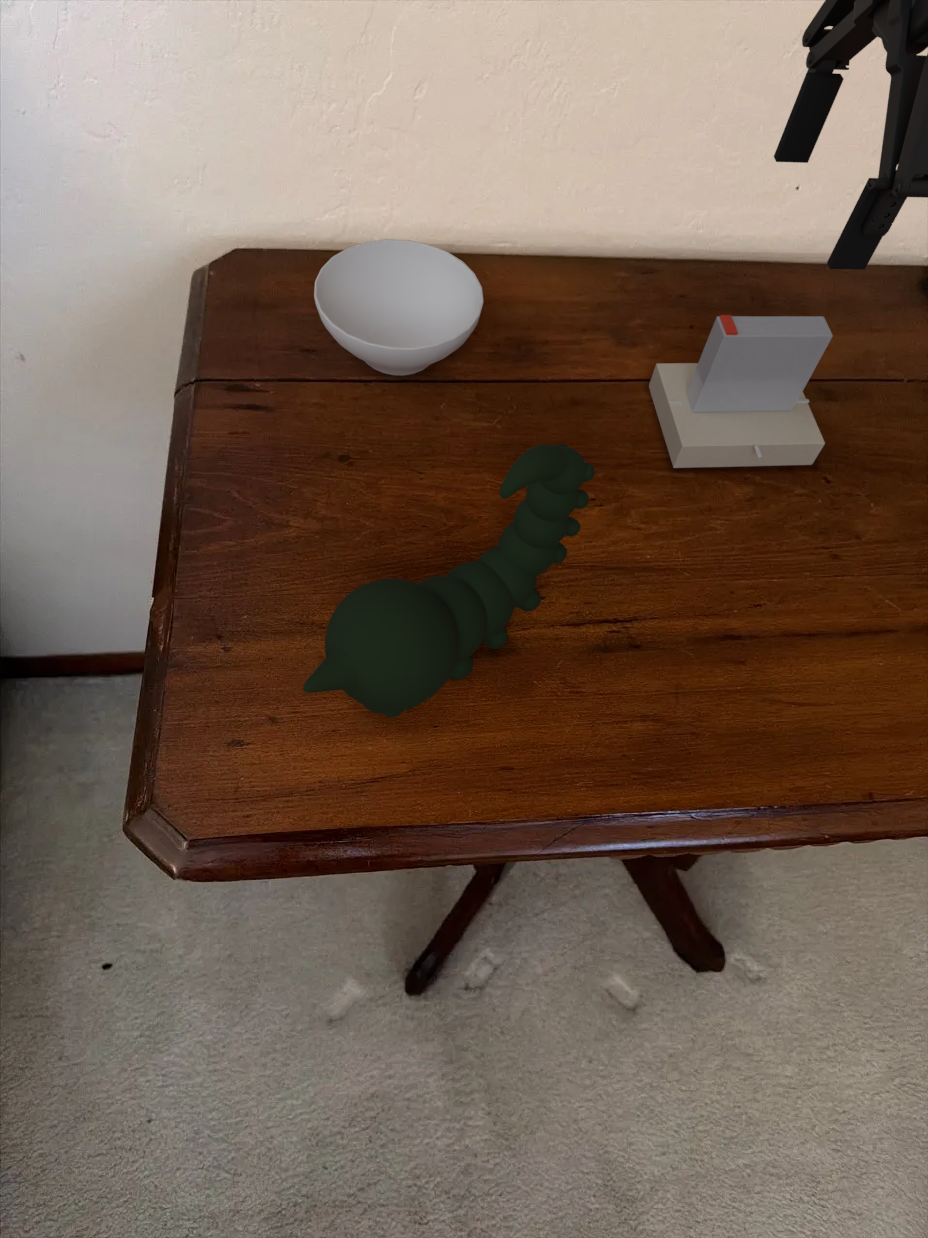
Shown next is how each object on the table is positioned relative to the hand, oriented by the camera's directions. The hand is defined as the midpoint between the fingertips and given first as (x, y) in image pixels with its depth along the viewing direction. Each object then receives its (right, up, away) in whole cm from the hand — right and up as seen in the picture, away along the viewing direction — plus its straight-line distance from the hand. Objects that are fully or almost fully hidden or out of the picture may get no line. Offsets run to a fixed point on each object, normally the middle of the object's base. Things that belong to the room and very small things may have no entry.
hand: (816, 210), depth 68 cm
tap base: (-1, -12, +19) cm, 23 cm away
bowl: (-34, -5, +21) cm, 40 cm away
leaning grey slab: (-1, -11, +16) cm, 20 cm away
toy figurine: (-29, -34, +3) cm, 45 cm away
